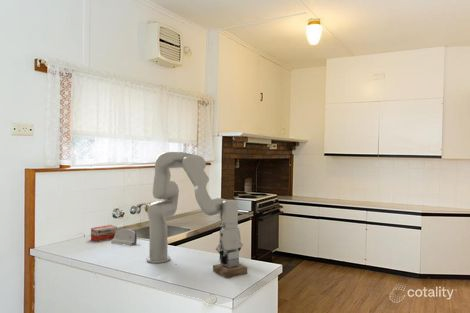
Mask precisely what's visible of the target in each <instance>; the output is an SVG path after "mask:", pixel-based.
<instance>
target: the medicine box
mask: <svg viewBox="0 0 470 313" xmlns="http://www.w3.org/2000/svg"><path fill="white" fill-rule="evenodd" d="M117 230H118V226H116V225H113V224H109V225H102V226H101V225H100V226H97V227H91V228H90V240H91V241H94V242H101V241H107V240H113V239H114V236H115V233H116V231H117Z"/></svg>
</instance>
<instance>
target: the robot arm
mask: <svg viewBox="0 0 470 313" xmlns="http://www.w3.org/2000/svg"><path fill="white" fill-rule="evenodd" d="M206 165H207V162H206V159H204V157H203V156H202V155H199V154H198V155H197V154H193V153H188V152H185V151H165V152H163V153H160V154H158V156H156V159H155V162H154V177H153V184H152V187H153V188H152V196H153V198H154V199H156V200H158V201H154V202H152V203H151V204H150V205H149V206H148V207H147V216H148V224H149V231H148V232H149V252H148V253H149V256H147V257H146V262H147V263H151V264H162V263H166V262H169V261H170V260H171V256H170V255H168V223H167V221H166V218H169V217H172V216H174V215H175V214H176V212H177V209H178V203H179V202H178V201H179V194H180V193H179V192H180V189H179V186H178V184H177V183H176V182H175V181H173V180H171V178H172V175H171V170H170V169H174V168H175V169H177V168H182V169H183V170H184V172H185V174H186V175H187V177H188V178H189V180H190V182H191V184H192V185H193V187H194V196H195V200H196V202H197V204H198V206H199V208H200V209H201V210H202V212H203V213H204V214H206V215H207V216H211V217H212V216H214V215H218V214H222V216H221V217H222V218H221V219H222V220H221V221H222V222H221V224H220V231H221V232H220V231H219V241H218V242H219V243H218V245H217V246H216V248H215V250H216V252H218V254H219V256H220V255H221V261H220V263H221V262H222V264H226V256H225V255H226V252H227V251H229V250H234V249H235V250H237V251H239V252H240V251H241V250H242V247H243V246H244V244H243V242H242V240H241V239H242V238H241V231H240V227H238V224H239V223H238V222H239V220H238V219H239V218H238V215H239V212H238V211H239V210H238V209H239V204H238V201H237V200H235V199H224V198H221V197H217V198H211V197H210V195H209V192H208V190H207V185H208V183H209V182H210V178H209V176H208V174H207V173H206V172H205V169H206ZM220 249H222V250H220Z"/></svg>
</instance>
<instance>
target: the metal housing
mask: <svg viewBox="0 0 470 313" xmlns="http://www.w3.org/2000/svg"><path fill="white" fill-rule="evenodd" d="M225 256H226V264H222V262H221V261H220V264H222V265H224V266H226V267H228V268H230V267H235V266H239V264H240V251H237V250H235V249H234V250H229V251H227V252H226V255H225Z"/></svg>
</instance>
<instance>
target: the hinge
mask: <svg viewBox="0 0 470 313" xmlns="http://www.w3.org/2000/svg"><path fill="white" fill-rule="evenodd" d="M137 240H138V232H137V231H134V230H132V229H128V228H122V229H121V228H120V229H117V231H116V233H115V236H114V238H113V239H111V244H115V243H118V245H123V244H125V245H124V246H132V245H136V244H137Z"/></svg>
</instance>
